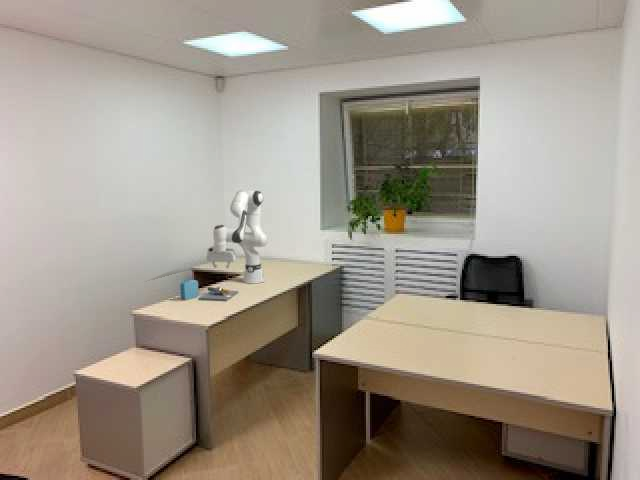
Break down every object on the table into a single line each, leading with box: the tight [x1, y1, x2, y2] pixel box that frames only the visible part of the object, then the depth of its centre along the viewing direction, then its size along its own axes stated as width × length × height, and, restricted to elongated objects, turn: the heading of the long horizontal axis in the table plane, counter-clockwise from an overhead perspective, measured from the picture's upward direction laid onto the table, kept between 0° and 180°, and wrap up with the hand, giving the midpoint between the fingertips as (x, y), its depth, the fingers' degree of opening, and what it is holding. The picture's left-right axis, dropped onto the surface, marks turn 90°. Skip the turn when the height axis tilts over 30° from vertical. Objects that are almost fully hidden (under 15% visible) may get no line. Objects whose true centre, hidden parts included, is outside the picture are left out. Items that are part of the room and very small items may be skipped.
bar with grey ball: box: [206, 286, 231, 295], centre depth 339 cm, size 20×6×5 cm, turn 57°
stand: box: [198, 290, 239, 302], centre depth 340 cm, size 22×21×2 cm
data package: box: [179, 279, 200, 301], centre depth 335 cm, size 12×4×12 cm, turn 145°
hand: (221, 267), depth 342 cm, fingers open, 8 cm apart
